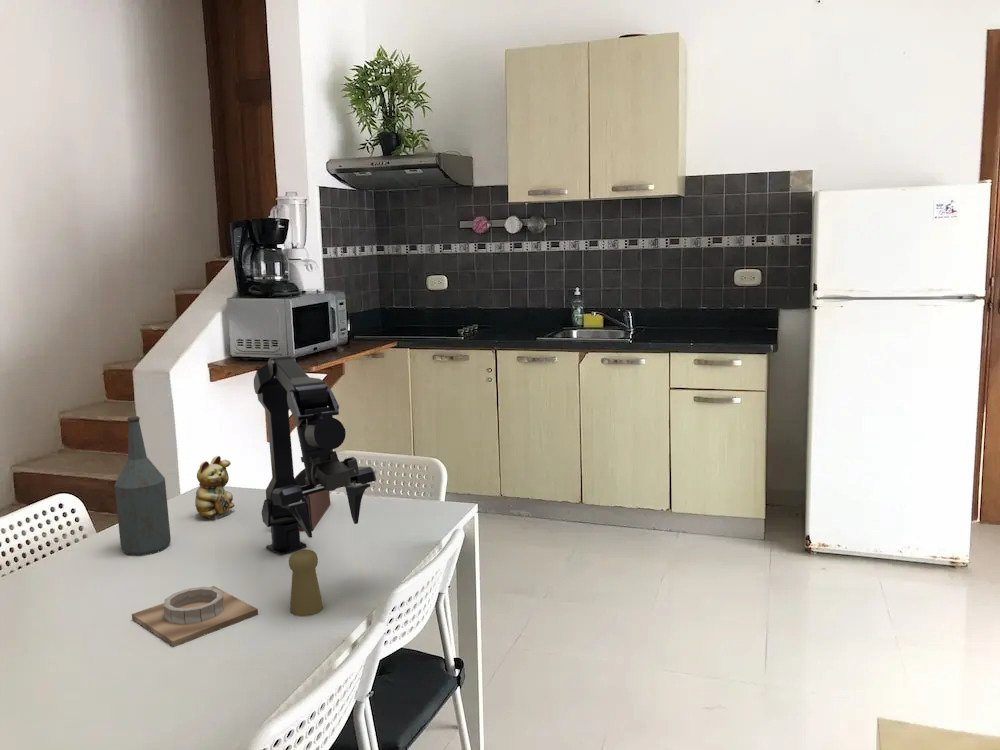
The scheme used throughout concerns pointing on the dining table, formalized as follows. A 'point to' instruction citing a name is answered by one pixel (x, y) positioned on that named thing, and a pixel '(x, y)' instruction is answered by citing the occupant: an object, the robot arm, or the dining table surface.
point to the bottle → (141, 500)
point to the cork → (304, 584)
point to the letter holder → (314, 502)
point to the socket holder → (193, 614)
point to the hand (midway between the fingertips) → (333, 530)
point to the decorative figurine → (213, 489)
